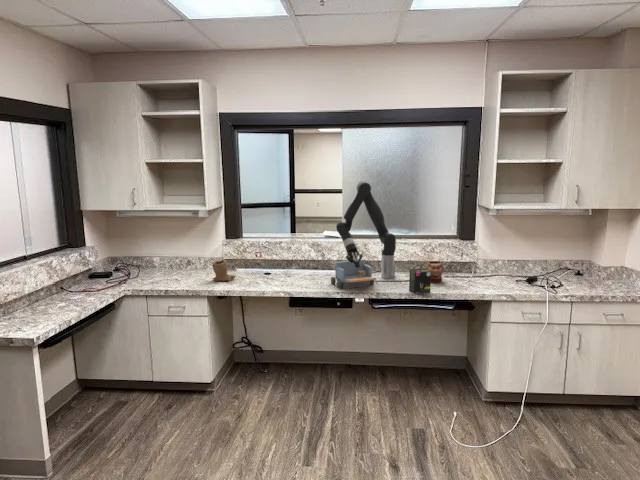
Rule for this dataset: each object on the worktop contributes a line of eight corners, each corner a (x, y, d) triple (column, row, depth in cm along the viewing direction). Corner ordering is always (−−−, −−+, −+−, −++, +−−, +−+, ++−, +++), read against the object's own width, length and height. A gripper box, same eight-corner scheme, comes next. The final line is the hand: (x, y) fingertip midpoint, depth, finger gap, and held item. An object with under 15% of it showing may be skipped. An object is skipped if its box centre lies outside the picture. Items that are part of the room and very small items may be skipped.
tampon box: (415, 294, 266) (416, 272, 263) (408, 290, 274) (409, 269, 272) (430, 293, 269) (431, 271, 266) (423, 289, 277) (424, 267, 275)
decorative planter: (422, 277, 308) (423, 258, 305) (439, 277, 307) (440, 258, 305) (428, 284, 288) (429, 265, 286) (446, 284, 287) (447, 265, 285)
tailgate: (370, 276, 285) (376, 277, 276) (370, 279, 285) (376, 280, 276) (345, 279, 278) (350, 280, 270) (345, 282, 278) (350, 283, 270)
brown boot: (210, 282, 300) (209, 262, 298) (216, 278, 312) (215, 258, 309) (230, 283, 298) (229, 262, 295) (236, 278, 309) (235, 259, 307)
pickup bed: (363, 279, 304) (363, 257, 301) (374, 285, 288) (374, 262, 285) (330, 282, 295) (330, 260, 292) (339, 289, 279) (339, 266, 277)
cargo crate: (362, 275, 290) (362, 270, 290) (365, 277, 287) (365, 271, 286) (357, 276, 289) (357, 270, 288) (360, 277, 285) (360, 272, 285)
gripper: (343, 243, 285) (350, 264, 275) (360, 242, 289) (368, 262, 280) (340, 250, 290) (347, 271, 281) (357, 248, 295) (365, 268, 286)
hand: (358, 266), depth 281 cm, fingers closed
